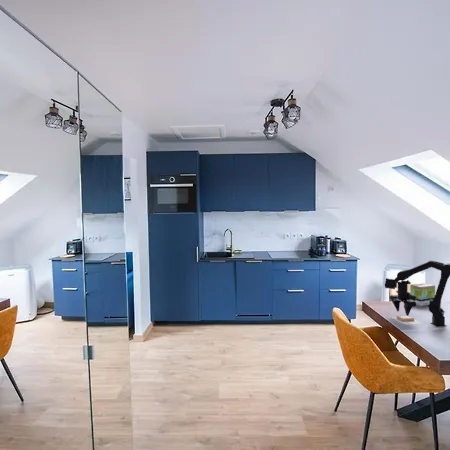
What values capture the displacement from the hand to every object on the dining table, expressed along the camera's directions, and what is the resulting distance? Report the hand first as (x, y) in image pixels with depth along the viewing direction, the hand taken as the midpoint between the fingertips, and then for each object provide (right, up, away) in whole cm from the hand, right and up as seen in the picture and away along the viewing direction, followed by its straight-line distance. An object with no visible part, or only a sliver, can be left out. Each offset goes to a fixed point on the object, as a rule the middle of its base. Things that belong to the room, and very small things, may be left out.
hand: (402, 313), depth 209 cm
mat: (+1, -4, -4) cm, 6 cm away
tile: (+1, -3, -5) cm, 6 cm away
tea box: (+35, -3, +35) cm, 50 cm away
